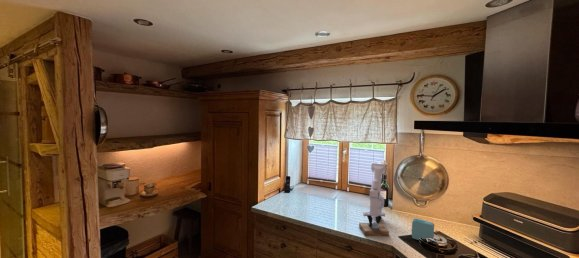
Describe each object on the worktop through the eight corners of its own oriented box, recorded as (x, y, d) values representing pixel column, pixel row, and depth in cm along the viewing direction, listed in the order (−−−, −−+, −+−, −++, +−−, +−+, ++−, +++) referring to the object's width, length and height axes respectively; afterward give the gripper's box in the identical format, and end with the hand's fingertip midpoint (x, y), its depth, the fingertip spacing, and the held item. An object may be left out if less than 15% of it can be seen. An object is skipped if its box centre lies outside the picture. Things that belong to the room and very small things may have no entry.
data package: (433, 241, 147) (434, 222, 147) (432, 244, 144) (433, 225, 143) (412, 235, 154) (413, 217, 153) (411, 238, 150) (412, 220, 150)
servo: (368, 226, 162) (369, 218, 162) (374, 226, 162) (374, 218, 162) (373, 232, 154) (373, 223, 153) (378, 232, 154) (379, 223, 153)
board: (359, 226, 164) (359, 222, 164) (381, 227, 165) (381, 223, 164) (364, 235, 152) (365, 231, 152) (388, 235, 153) (389, 231, 152)
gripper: (365, 209, 153) (365, 228, 154) (387, 209, 154) (386, 229, 154) (362, 205, 160) (361, 223, 161) (383, 205, 161) (382, 224, 161)
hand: (373, 226), depth 158 cm, fingers closed on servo, 3 cm apart
